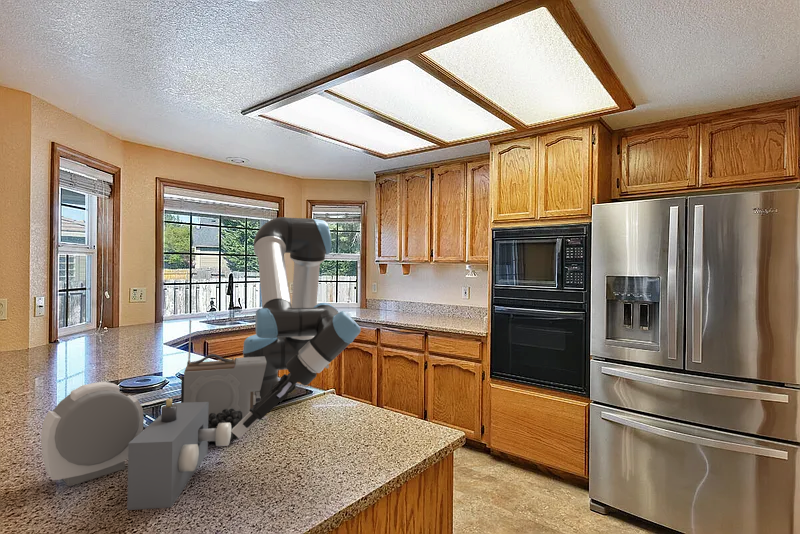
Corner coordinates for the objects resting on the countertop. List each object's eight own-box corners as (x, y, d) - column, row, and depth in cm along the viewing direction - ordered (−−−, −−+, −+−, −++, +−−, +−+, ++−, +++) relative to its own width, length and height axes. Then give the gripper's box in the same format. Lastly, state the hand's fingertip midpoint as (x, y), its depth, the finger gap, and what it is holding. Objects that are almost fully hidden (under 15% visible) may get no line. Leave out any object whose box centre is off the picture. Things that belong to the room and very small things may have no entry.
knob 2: (199, 441, 104) (199, 420, 104) (231, 440, 105) (231, 419, 105) (192, 450, 99) (192, 428, 99) (225, 449, 100) (226, 427, 100)
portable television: (265, 421, 130) (267, 323, 129) (178, 431, 121) (180, 325, 121) (263, 408, 141) (264, 318, 140) (182, 416, 132) (184, 320, 132)
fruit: (181, 412, 110) (243, 407, 114) (188, 412, 118) (246, 407, 122) (179, 448, 108) (242, 441, 112) (186, 445, 115) (245, 439, 119)
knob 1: (162, 465, 91) (162, 441, 91) (198, 463, 92) (198, 440, 92) (151, 477, 86) (152, 452, 86) (190, 475, 87) (190, 450, 87)
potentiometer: (164, 417, 96) (164, 397, 96) (178, 417, 96) (178, 397, 96) (158, 422, 93) (159, 401, 93) (173, 422, 93) (173, 401, 93)
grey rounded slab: (132, 454, 106) (133, 373, 106) (145, 465, 100) (146, 380, 100) (38, 482, 92) (40, 389, 92) (48, 496, 86) (50, 397, 86)
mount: (173, 454, 106) (174, 402, 106) (207, 453, 107) (208, 401, 107) (127, 510, 82) (128, 443, 82) (171, 507, 84) (172, 441, 83)
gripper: (317, 381, 99) (241, 456, 96) (319, 367, 112) (252, 433, 109) (294, 359, 98) (216, 434, 96) (299, 347, 111) (230, 413, 108)
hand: (235, 433), depth 102 cm, fingers closed
